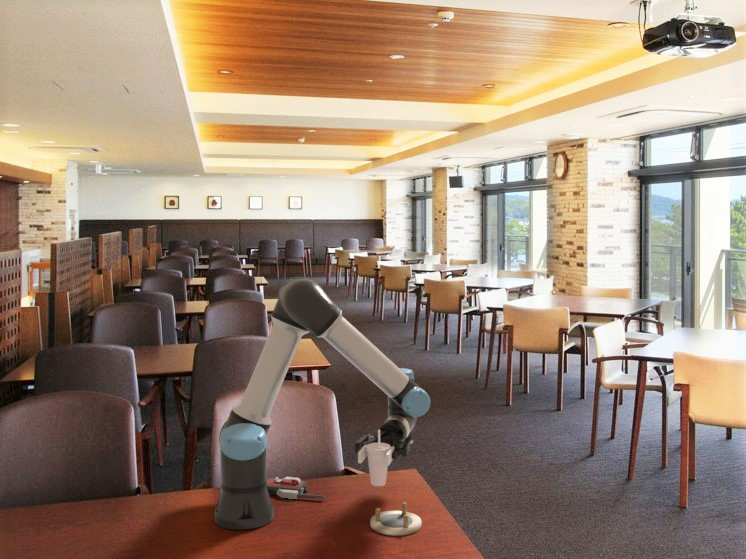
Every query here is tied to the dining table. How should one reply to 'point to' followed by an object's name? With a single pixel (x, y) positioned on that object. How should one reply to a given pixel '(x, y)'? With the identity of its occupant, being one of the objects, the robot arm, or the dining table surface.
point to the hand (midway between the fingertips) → (373, 459)
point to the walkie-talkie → (289, 488)
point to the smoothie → (377, 461)
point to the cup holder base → (396, 522)
